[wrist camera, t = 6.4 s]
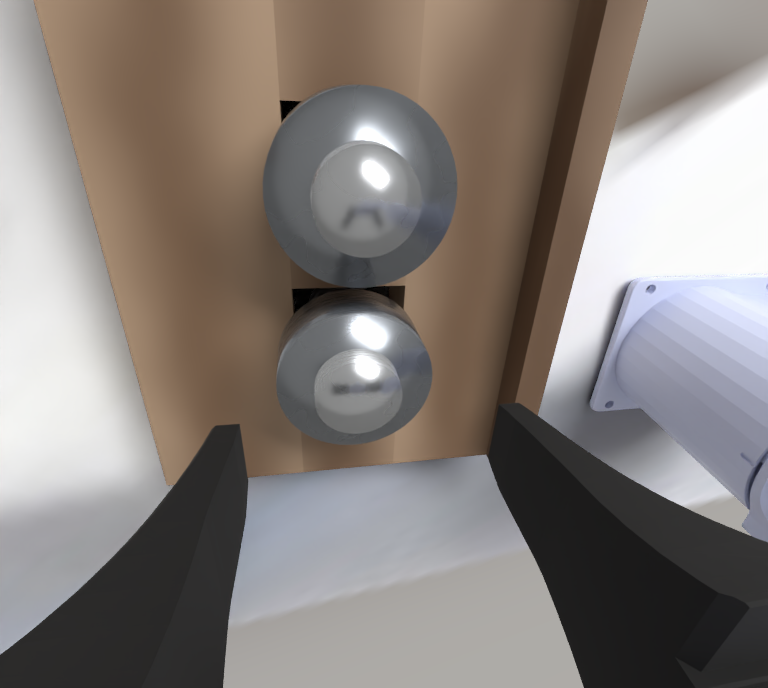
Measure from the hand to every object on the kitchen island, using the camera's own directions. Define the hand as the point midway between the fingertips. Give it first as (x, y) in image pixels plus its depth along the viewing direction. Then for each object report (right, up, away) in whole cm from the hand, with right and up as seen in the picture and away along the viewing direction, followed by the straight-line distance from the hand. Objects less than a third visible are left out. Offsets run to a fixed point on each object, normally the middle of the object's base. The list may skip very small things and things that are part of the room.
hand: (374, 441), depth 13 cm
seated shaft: (-1, +10, +5) cm, 11 cm away
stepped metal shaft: (-2, +4, +8) cm, 9 cm away
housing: (-2, +7, +6) cm, 9 cm away
